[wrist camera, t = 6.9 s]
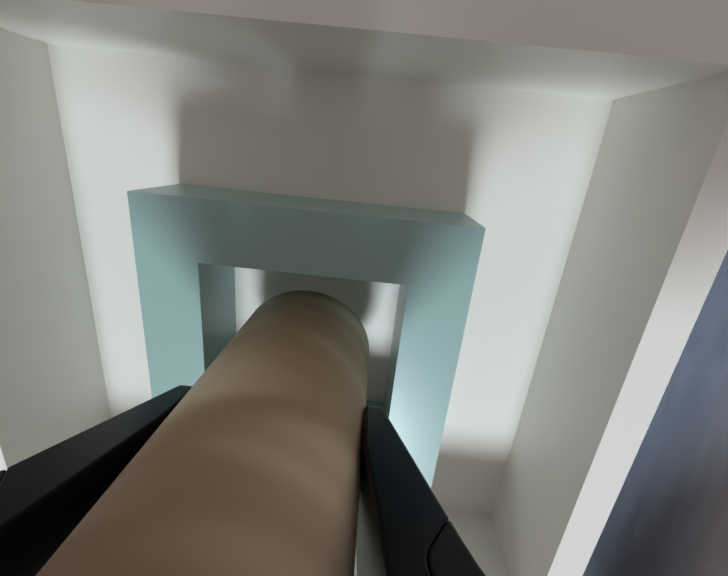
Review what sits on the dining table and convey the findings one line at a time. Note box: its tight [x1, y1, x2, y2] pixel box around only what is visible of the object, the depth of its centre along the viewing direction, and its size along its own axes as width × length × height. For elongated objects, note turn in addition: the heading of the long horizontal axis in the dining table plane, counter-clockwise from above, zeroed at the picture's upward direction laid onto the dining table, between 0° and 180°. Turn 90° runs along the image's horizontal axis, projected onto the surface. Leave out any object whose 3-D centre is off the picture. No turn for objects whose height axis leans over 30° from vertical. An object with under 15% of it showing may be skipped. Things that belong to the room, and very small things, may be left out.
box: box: [0, 0, 728, 576], centre depth 11 cm, size 18×18×4 cm
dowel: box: [36, 290, 369, 576], centre depth 7 cm, size 4×4×10 cm
